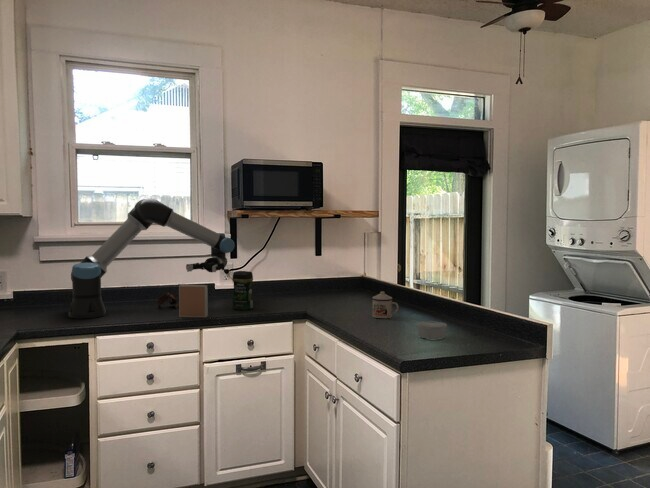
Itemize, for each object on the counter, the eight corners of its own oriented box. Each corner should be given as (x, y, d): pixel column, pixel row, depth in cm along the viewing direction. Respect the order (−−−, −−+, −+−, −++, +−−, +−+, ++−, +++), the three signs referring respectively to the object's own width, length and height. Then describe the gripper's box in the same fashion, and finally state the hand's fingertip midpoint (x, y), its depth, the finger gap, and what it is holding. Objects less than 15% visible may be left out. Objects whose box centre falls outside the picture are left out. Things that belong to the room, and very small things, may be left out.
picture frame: (179, 317, 227) (178, 285, 226) (181, 315, 230) (181, 284, 229) (205, 317, 226) (205, 286, 225) (207, 316, 229) (207, 285, 229)
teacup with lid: (369, 318, 225) (369, 292, 224) (376, 314, 233) (376, 289, 232) (395, 320, 220) (395, 294, 219) (401, 317, 228) (401, 291, 227)
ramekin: (442, 334, 195) (442, 320, 195) (450, 341, 184) (450, 327, 184) (413, 334, 195) (413, 320, 195) (420, 341, 184) (420, 327, 184)
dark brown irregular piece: (176, 310, 245) (167, 296, 243) (160, 318, 247) (151, 304, 245) (184, 300, 257) (175, 286, 255) (169, 307, 259) (160, 294, 257)
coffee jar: (230, 309, 245) (229, 271, 244) (237, 307, 252) (237, 269, 251) (248, 310, 242) (248, 272, 241) (255, 308, 249) (255, 270, 248)
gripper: (236, 271, 259) (225, 276, 238) (190, 271, 261) (175, 276, 239) (236, 257, 259) (225, 261, 237) (190, 257, 260) (175, 260, 238)
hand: (200, 268), depth 238 cm, fingers open, 11 cm apart
